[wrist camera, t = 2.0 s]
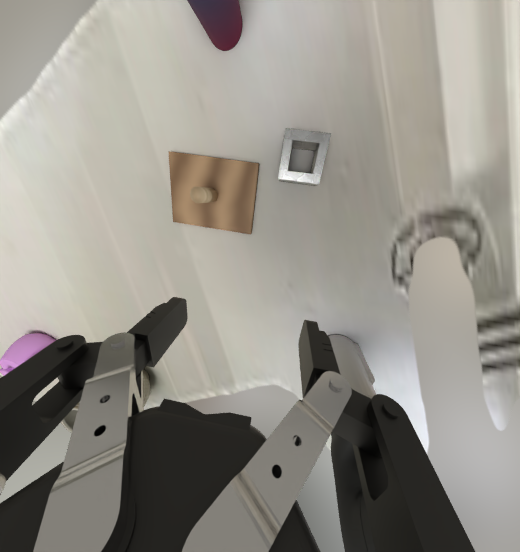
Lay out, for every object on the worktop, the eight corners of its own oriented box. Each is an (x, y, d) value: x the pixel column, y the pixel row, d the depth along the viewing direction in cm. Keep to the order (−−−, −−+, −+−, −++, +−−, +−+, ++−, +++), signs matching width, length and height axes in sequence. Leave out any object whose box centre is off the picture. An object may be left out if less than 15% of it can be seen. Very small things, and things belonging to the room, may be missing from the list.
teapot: (15, 339, 63) (-34, 366, 53) (47, 323, 57) (-2, 349, 47) (48, 367, 67) (7, 396, 57) (80, 354, 61) (41, 384, 51)
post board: (259, 164, 32) (252, 156, 25) (251, 233, 37) (244, 241, 30) (171, 152, 33) (144, 142, 26) (176, 221, 38) (153, 226, 31)
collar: (324, 143, 29) (331, 133, 25) (314, 185, 32) (319, 184, 27) (286, 138, 30) (285, 128, 25) (279, 180, 32) (278, 178, 28)
